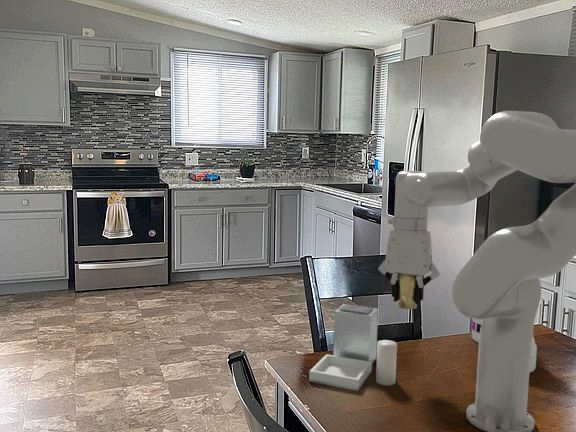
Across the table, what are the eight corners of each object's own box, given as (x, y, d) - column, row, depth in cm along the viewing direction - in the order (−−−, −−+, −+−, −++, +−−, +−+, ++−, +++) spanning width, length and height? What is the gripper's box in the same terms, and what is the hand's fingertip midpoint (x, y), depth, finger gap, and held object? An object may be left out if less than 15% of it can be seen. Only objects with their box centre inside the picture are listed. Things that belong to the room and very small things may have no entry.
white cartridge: (392, 386, 129) (394, 348, 127) (373, 383, 130) (375, 344, 129) (397, 379, 133) (399, 341, 132) (378, 376, 134) (380, 338, 133)
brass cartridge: (414, 310, 133) (416, 271, 131) (395, 307, 134) (397, 269, 133) (418, 305, 137) (420, 268, 135) (399, 302, 138) (401, 266, 137)
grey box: (368, 368, 139) (370, 314, 137) (333, 362, 142) (334, 309, 140) (376, 358, 145) (378, 306, 144) (342, 352, 149) (344, 302, 147)
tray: (357, 390, 126) (358, 379, 126) (309, 381, 131) (309, 370, 130) (371, 372, 137) (371, 362, 136) (326, 364, 141) (326, 354, 141)
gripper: (370, 224, 133) (367, 301, 135) (445, 229, 126) (441, 310, 128) (379, 220, 140) (376, 293, 142) (450, 225, 133) (446, 302, 135)
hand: (407, 300), depth 135 cm, fingers closed on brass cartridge, 4 cm apart
